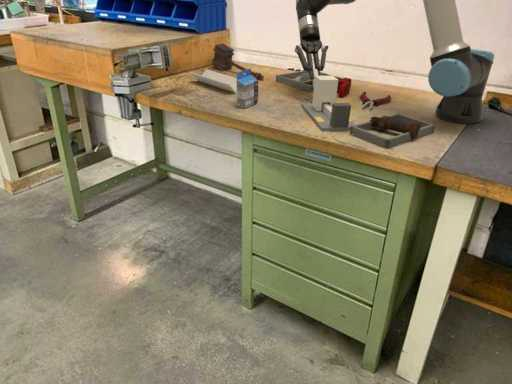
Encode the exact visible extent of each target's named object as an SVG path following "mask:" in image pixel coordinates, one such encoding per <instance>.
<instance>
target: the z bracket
mask: <svg viewBox="0 0 512 384" xmlns="http://www.w3.org/2000/svg"><path fill="white" fill-rule="evenodd" d="M189 73H190V74H191V76H193V77H194V79H196V81H198V82H200V83H204V84H206V85H209V86H212V87H216V88H219V89H222V90H224V91H228V92H231V93H234V94H236V95H237V77H233V76H230V75H226V74H223V73H220V72H216V71H215V70H214V71H213V70H210V69H207V68H206V69H205V70H204V72H203V73H202V74H198V73H197V72H192V71H190V72H189Z"/></svg>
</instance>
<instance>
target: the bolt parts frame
mask: <svg viewBox="0 0 512 384" xmlns="http://www.w3.org/2000/svg"><path fill="white" fill-rule="evenodd" d="M388 116H389V118H390V120H394V121H399V122H404V123H410V124H412V122H414V121H419V122H420V130H419V131H418V136H417V137H416V139H419V138H421V137H424V136H427V135H431V134H432V133H433V134H434V131H435V127H436V124H433V123H429V122H428V121H423V120H421V119H417V118H415V117H411V116H409V115H405V114H402V113H399V112H396V113H394V114H390V115H388ZM377 128H378V127H373V126H372V122H371V121H370V120H368V121H364V122H361V123H356V125H353V126H351V127H350V130H349V135H351V134H353V135H352V136H354V135H355V136H354V137H356V136H357V138H359V137H360V138H359V139H361V138H362V139H361V140H364V139H365V140H364V141H366V140H367V141H366V142H369V141H370V142H369V143H371V142H372V144H374V143H375V144H374V145H376V144H377V145H376V146H379V145H380V146H379V147H381V146H382V148H384V147H385V149H386V148H387V149H390V148H393V147H395V146H399V145H400V144H401V145H402V144H404V143H407V142H409V141H413V140H412V139H411V135H410V133H408V132H407V133H400V134H398V135H395V136H392V137H388V138H387V137H384V136H382V135H379V134H376V133H373V132H371V131H369V130H373V129H377ZM366 130H367V131H366ZM392 146H393V147H392Z"/></svg>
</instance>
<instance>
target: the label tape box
mask: <svg viewBox="0 0 512 384" xmlns="http://www.w3.org/2000/svg"><path fill="white" fill-rule="evenodd" d="M246 69H247V70H243V71H242V70H240V71H237V73H236V78H237V94H236V108H241V109H247V108H249V107H252V106H254V105H255V104H258V103H259V80H257V79H256V78H255V77H254V76H252V75H250V72H251V71H252V68H246ZM243 74H244V75H243Z"/></svg>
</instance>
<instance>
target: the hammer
mask: <svg viewBox="0 0 512 384" xmlns="http://www.w3.org/2000/svg"><path fill="white" fill-rule="evenodd" d="M214 45H215V46H214V48H213V49H212V50H213V52H214V56H213V58H212V59H211V62H212V64H211V65H212V66H213V67H214V68H215V69H218V70H219V71H221V72H224V71H229V70H232V69H233V68H232V67H234V68H237V69H238V70H240V71H243V70H247V69H248V68H246V67H244V66H241V65H240V64H238V63H235V62H234V61H233V56H234V55H235V52H234V49H233V48H232V47H230V46H228V45H226V44H225V43H219V44H214ZM250 75H251V76H252V77H254V78H255V79H257V80H258V81H259V80H261V81H264V80H265V76H264V75H262V73H261V72H255V71H252V70H251V72H250Z"/></svg>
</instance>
